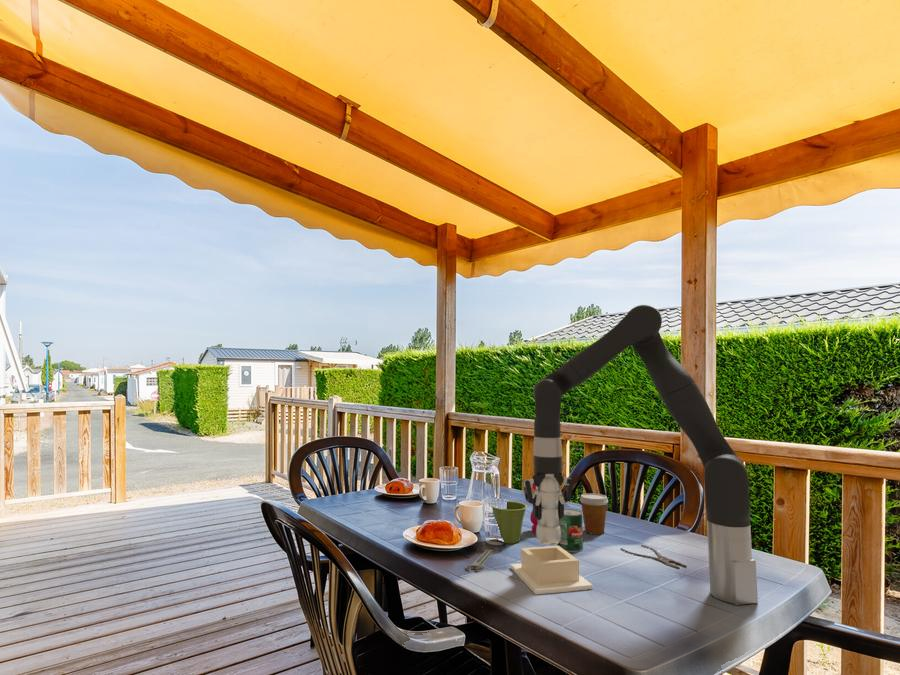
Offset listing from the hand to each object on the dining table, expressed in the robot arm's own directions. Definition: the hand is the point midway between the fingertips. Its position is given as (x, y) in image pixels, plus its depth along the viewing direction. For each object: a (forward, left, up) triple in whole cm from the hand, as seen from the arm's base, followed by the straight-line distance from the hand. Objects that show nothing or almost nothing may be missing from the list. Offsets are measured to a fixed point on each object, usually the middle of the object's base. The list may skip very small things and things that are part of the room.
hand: (548, 518), depth 132 cm
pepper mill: (+39, -14, -15) cm, 44 cm away
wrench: (+17, +13, -16) cm, 26 cm away
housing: (0, 0, -15) cm, 15 cm away
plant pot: (+32, 0, -15) cm, 35 cm away
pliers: (+9, -38, -16) cm, 42 cm away
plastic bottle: (0, 0, -7) cm, 7 cm away
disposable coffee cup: (+35, -32, -15) cm, 50 cm away
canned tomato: (+21, -16, -15) cm, 30 cm away
